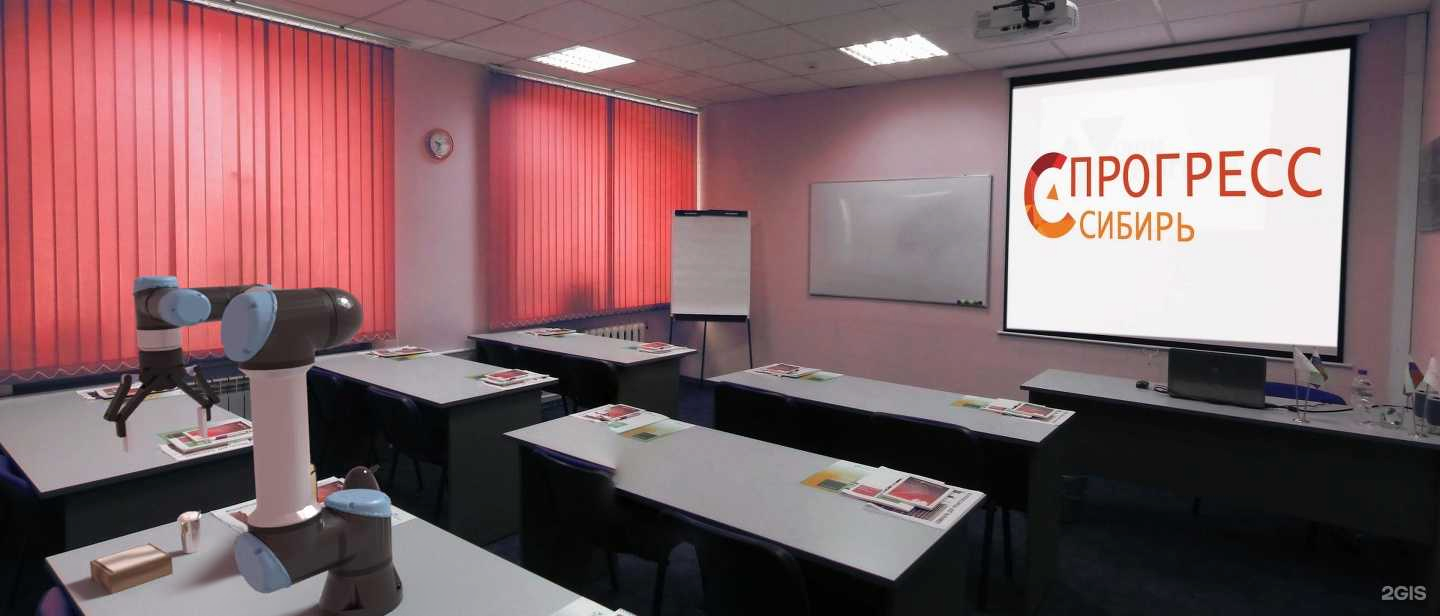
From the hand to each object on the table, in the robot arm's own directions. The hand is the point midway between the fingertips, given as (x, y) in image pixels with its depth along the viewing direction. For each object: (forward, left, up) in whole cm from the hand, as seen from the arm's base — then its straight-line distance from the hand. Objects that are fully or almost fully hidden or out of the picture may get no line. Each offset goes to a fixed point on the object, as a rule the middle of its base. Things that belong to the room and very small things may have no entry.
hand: (167, 443), depth 154 cm
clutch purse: (-7, -19, -28) cm, 35 cm away
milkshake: (+5, -5, -28) cm, 29 cm away
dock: (+2, +7, -28) cm, 29 cm away
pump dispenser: (-13, -35, -28) cm, 47 cm away
